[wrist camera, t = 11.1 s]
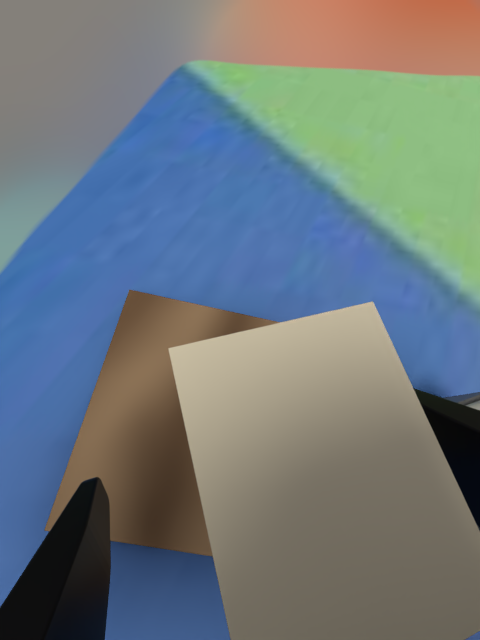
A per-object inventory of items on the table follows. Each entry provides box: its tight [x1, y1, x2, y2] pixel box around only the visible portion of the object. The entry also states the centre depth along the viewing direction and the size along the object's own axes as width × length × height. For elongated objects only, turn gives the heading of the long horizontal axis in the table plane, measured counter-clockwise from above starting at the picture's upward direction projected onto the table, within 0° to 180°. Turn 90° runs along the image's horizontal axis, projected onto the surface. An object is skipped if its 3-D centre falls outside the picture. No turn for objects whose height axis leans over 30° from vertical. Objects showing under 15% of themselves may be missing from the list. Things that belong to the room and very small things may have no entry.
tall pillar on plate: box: [168, 302, 480, 640], centre depth 11 cm, size 5×4×13 cm
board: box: [45, 290, 280, 556], centre depth 17 cm, size 12×13×1 cm
